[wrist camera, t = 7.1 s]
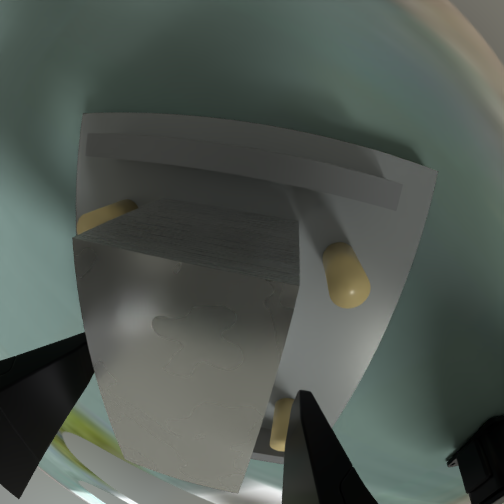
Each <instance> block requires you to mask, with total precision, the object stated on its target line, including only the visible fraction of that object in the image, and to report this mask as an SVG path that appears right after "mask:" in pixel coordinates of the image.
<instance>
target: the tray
mask: <svg viewBox="0 0 504 504" xmlns="http://www.w3.org/2000/svg"><path fill="white" fill-rule="evenodd" d="M437 175H438V171H436V170H433V169H431V168H428V167H425V166H422V165H420V164H417V163H414V162H411V161H408V160H405V159H402V158H399V157H396V156H393V155H390V154H387V153H384V152H380V151H377V150H374V149H370V148H367V147H363V146H360V145H356V144H352V143H348V142H345V141H341V140H337V139H333V138H329V137H324V136H320V135H316V134H311V133H306V132H302V131H297V130H292V129H286V128H281V127H276V126H270V125H264V124H258V123H251V122H244V121H237V120H229V119H221V118H212V117H202V116H191V115H178V114H160V113H83V116H82V123H81V131H80V140H79V150H78V163H77V181H76V236H77V235H79V234H81V233H83V232H85V231H88V230H90V229H92V228H94V227H96V226H98V225H101V224H103V223H105V222H107V221H110V220H112V219H114V218H116V217H119V216H121V215H123V214H126V213H128V212H130V211H133V210H135V209H137V208H140V207H142V206H145V205H147V204H150V203H152V202H155V201H157V200H160V199H162V198H163V199H170V200H177V201H184V202H190V203H197V204H203V205H209V206H216V207H222V208H228V209H234V210H240V211H246V212H252V213H257V214H263V215H268V216H274V217H279V218H285V219H290V220H296V221H299V251H300V287H299V291H298V295H297V299H296V303H295V307H294V311H293V315H292V319H291V323H290V327H289V331H288V335H287V338H286V342H285V346H284V350H283V353H282V357H281V360H280V364H279V368H278V371H277V375H276V378H275V382H274V385H273V388H272V392H271V395H270V399H269V402H268V405H267V408H266V412H265V415H264V418H263V421H262V425H261V428H260V431H259V434H258V437H257V440H256V443H255V446H254V449H253V452H252V455H251V458H250V459H255V460H260V461H266V462H273V463H279V464H284V451H285V442H286V436H287V431H288V425H289V419H290V413H291V407H292V404H293V402H294V400H295V397H296V395H297V393H298V391H299V390H307V391H311V392H312V394H313V396H314V397H315V399H316V401H317V403H318V405H319V406H320V408H321V410H322V412H323V414H324V415H325V417H326V419H327V421H328V423H329V424H330V426H331V428H332V427H333V426H334V424H335V422H336V421H337V419H338V418H339V416H340V414H341V413H342V411H343V410H344V408H345V406H346V405H347V403H348V401H349V400H350V398H351V396H352V394H353V393H354V391H355V389H356V387H357V386H358V384H359V382H360V380H361V378H362V376H363V375H364V373H365V371H366V369H367V367H368V365H369V363H370V361H371V359H372V357H373V355H374V353H375V351H376V349H377V347H378V345H379V343H380V341H381V339H382V337H383V335H384V332H385V330H386V328H387V326H388V324H389V321H390V319H391V317H392V315H393V312H394V310H395V307H396V305H397V303H398V300H399V298H400V295H401V293H402V290H403V288H404V285H405V282H406V280H407V277H408V274H409V272H410V269H411V266H412V263H413V260H414V257H415V254H416V251H417V248H418V245H419V242H420V239H421V236H422V233H423V229H424V226H425V222H426V219H427V215H428V212H429V208H430V204H431V200H432V196H433V192H434V188H435V184H436V179H437Z"/></svg>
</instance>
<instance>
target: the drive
mask: <svg viewBox="0 0 504 504" xmlns="http://www.w3.org/2000/svg"><path fill="white" fill-rule="evenodd" d="M73 251H74V262H75V272H76V280H77V288H78V295H79V301H80V307H81V313H82V319H83V324H84V329H85V334H86V339H87V343H88V348H89V352H90V356H91V360H92V364H93V368H94V372H95V375H96V379H97V382H98V386H99V389H100V392H101V396H102V399H103V402H104V405H105V408H106V411H107V414H108V417H109V420H110V422H111V425H112V428H113V431H114V433H115V436H116V438H117V441H118V443H119V446H120V448H121V451H122V453H123V455H124V458H125V459H126V460H128V461H130V462H133V463H135V464H138V465H140V466H143V467H146V468H148V469H151V470H154V471H156V472H159V473H162V474H165V475H168V476H171V477H174V478H178V479H181V480H184V481H188V482H191V483H195V484H198V485H202V486H206V487H210V488H214V489H219V490H223V491H228V492H233V493H238V492H239V489H240V487H241V484H242V481H243V478H244V475H245V473H246V470H247V467H248V464H249V461H250V458H251V455H252V452H253V449H254V446H255V443H256V440H257V437H258V434H259V431H260V428H261V425H262V421H263V418H264V415H265V412H266V408H267V405H268V402H269V399H270V395H271V392H272V388H273V385H274V382H275V378H276V375H277V371H278V368H279V364H280V360H281V357H282V353H283V350H284V346H285V342H286V338H287V335H288V331H289V327H290V323H291V319H292V315H293V311H294V307H295V303H296V299H297V295H298V291H299V287H300V251H299V221H296V220H290V219H285V218H279V217H274V216H268V215H263V214H257V213H252V212H246V211H240V210H234V209H228V208H222V207H216V206H209V205H203V204H197V203H190V202H184V201H177V200H170V199H163V198H162V199H160V200H157V201H155V202H152V203H150V204H147V205H145V206H142V207H140V208H137V209H135V210H133V211H130V212H128V213H126V214H123V215H121V216H119V217H116V218H114V219H112V220H110V221H107V222H105V223H103V224H101V225H98V226H96V227H94V228H92V229H90V230H88V231H85V232H83V233H81V234H79V235H77V236H75V237H73Z"/></svg>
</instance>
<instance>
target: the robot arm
mask: <svg viewBox="0 0 504 504" xmlns="http://www.w3.org/2000/svg"><path fill="white" fill-rule="evenodd" d="M93 374H94V368H93V364H92V360H91V356H90V352H89V348H88V343H87V339H86V334H85V332H84V333H81V334H78V335H75V336H72V337H69V338H66V339H64V340H61V341H58V342H55V343H52V344H49V345H46V346H43V347H40V348H37V349H34V350H31V351H29V352H26V353H23V354H20V355H17V356H13V357H11V358H7V359H4V360H1V361H0V484H1V485H2V486H3V487H4V488H6V489H7V490H8V491H9V492H10V493H12V494H13V495H14V496H15V497H17V498H18V499H19V498H20V497H21V495H22V493H23V491H24V490H25V488H26V486H27V484H28V482H29V480H30V479H31V477H32V475H33V473H34V471H35V469H36V468H37V466H38V464H39V462H40V461H41V459H42V457H43V456H44V454H45V452H46V450H47V449H48V447H49V445H50V444H51V442H52V440H53V439H54V437H55V435H56V434H57V432H58V431H59V429H60V427H61V426H62V424H63V423H64V421H65V419H66V418H67V416H68V415H69V413H70V411H71V410H72V408H73V407H74V405H75V404H76V402H77V401H78V399H79V398H80V396H81V395H82V393H83V391H84V390H85V388H86V387H87V385H88V383H89V382H90V380H91V378H92V376H93ZM447 466H448V467H454V466H459V469H460V472H461V476H462V479H463V483H464V487H465V490H466V493H467V494H468V493H469V497H470V501H471V504H502V503H503V502H504V416H500V417H494V418H491V419H490V420H488V421H487V422H486V423H485V424H484V426H483V427H482V428H481V429H480V430H479V431H478V432H477V433H476V434H475V435H474V437H473V438H472V439H471V440H470V441H469V442H468V443H467V444H466V445H465V446H464V447H463V448H462V449H461V450H460V451H459V452H458V453H457V454H456V455H455V456H454V457H453V458H451V459H450V460H449V461H448V462H447ZM282 504H378V503H377V501H376V500H375V499H374V498H373V496H372V495H371V493H370V492H369V491H368V489H367V488H366V487H365V485H364V483H363V482H362V480H361V479H360V477H359V475H358V474H357V472H356V470H355V468H354V467H352V463H351V462H350V460H349V458H348V456H347V455H346V453H345V451H344V449H343V447H342V446H341V444H340V442H339V440H338V439H337V437H336V435H335V433H334V431H333V430H332V428H331V426H330V424H329V423H328V421H327V419H326V417H325V415H324V414H323V412H322V410H321V408H320V406H319V405H318V403H317V401H316V399H315V397H314V396H313V394H312V392H311V391H307V390H299V391H298V393H297V395H296V397H295V400H294V402H293V404H292V407H291V413H290V419H289V425H288V431H287V436H286V442H285V451H284V472H283V491H282Z"/></svg>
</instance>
